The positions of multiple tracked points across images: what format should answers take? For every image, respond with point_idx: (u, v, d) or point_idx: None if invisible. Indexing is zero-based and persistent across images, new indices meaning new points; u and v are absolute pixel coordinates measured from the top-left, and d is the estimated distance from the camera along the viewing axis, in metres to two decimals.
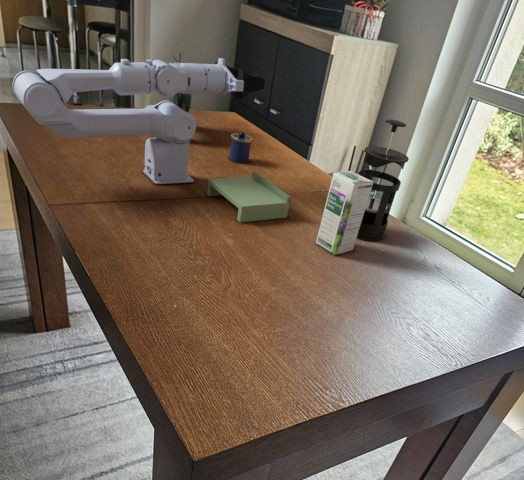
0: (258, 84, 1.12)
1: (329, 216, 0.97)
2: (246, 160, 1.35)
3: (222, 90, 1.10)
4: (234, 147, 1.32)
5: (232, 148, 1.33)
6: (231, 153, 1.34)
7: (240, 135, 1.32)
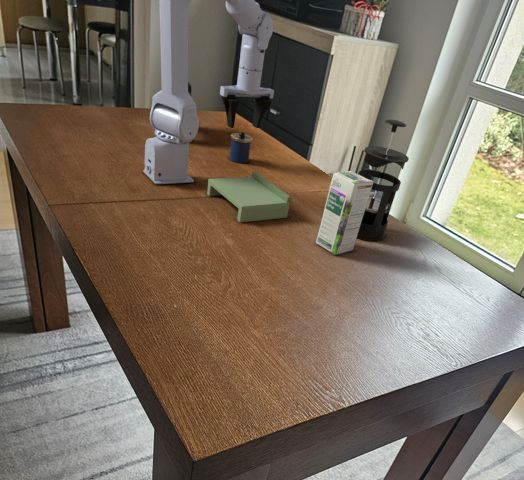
0: None
1: (329, 216, 0.97)
2: (246, 160, 1.35)
3: (259, 89, 1.26)
4: (234, 147, 1.32)
5: (232, 148, 1.33)
6: (231, 153, 1.34)
7: (240, 135, 1.32)
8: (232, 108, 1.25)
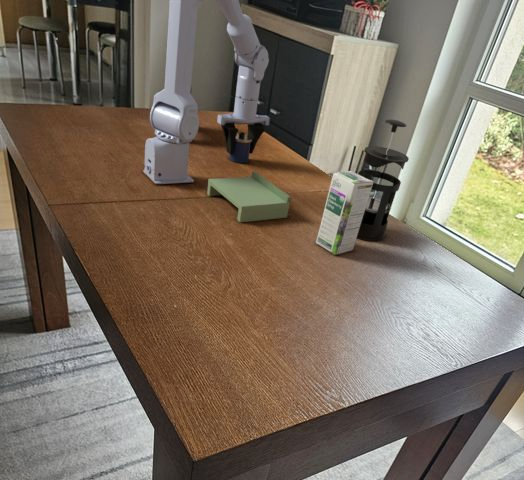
0: None
1: (329, 216, 0.97)
2: (246, 160, 1.35)
3: (255, 117, 1.30)
4: (234, 147, 1.32)
5: None
6: None
7: (240, 135, 1.32)
8: (231, 136, 1.29)
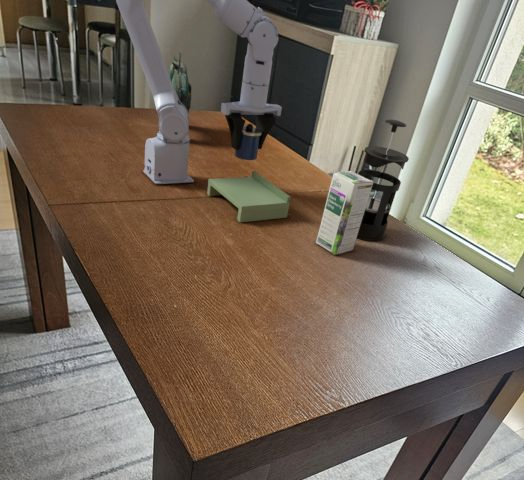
0: None
1: (329, 216, 0.97)
2: (254, 157, 1.16)
3: (265, 106, 1.10)
4: (241, 141, 1.13)
5: None
6: None
7: (247, 127, 1.13)
8: (237, 128, 1.10)
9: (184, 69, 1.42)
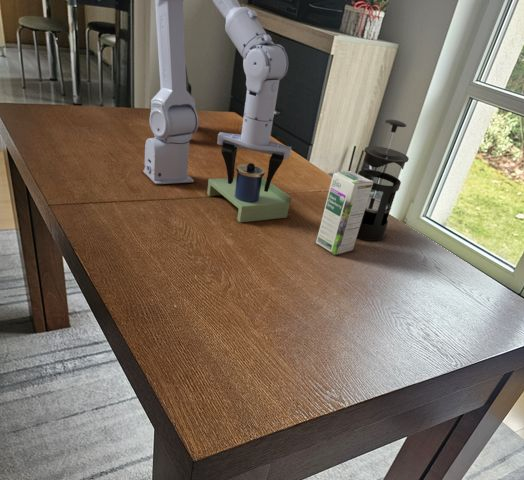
0: None
1: (329, 216, 0.97)
2: (249, 199, 1.04)
3: (264, 143, 0.98)
4: (237, 179, 1.03)
5: (236, 180, 1.04)
6: None
7: (247, 166, 1.02)
8: (225, 160, 1.01)
9: None
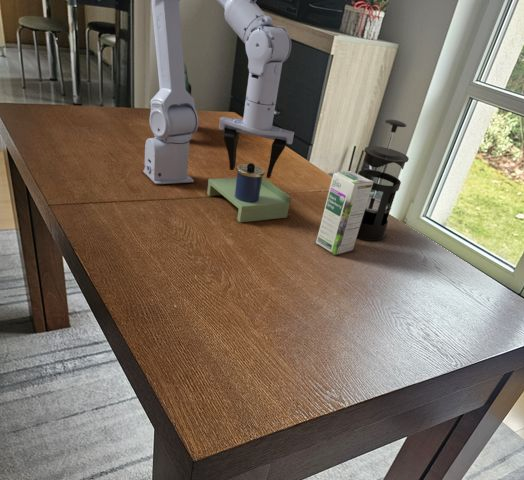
0: (272, 169, 1.02)
1: (329, 216, 0.97)
2: (249, 199, 1.04)
3: (267, 128, 0.96)
4: (237, 179, 1.03)
5: (236, 180, 1.04)
6: None
7: (247, 166, 1.02)
8: (227, 145, 0.99)
9: (184, 69, 1.42)
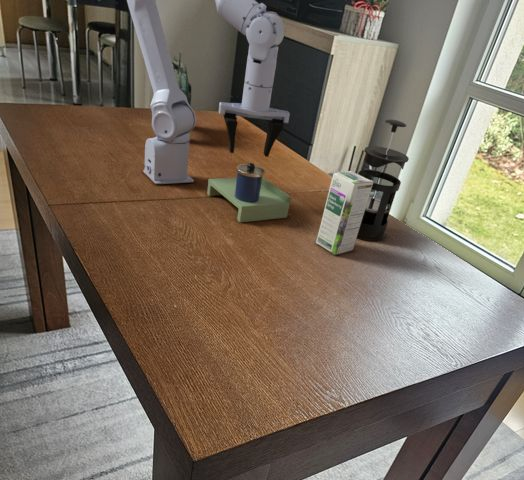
0: None
1: (329, 216, 0.97)
2: (249, 199, 1.04)
3: (267, 110, 1.03)
4: (237, 179, 1.03)
5: (236, 180, 1.04)
6: None
7: (247, 166, 1.02)
8: (229, 129, 1.03)
9: (184, 69, 1.42)
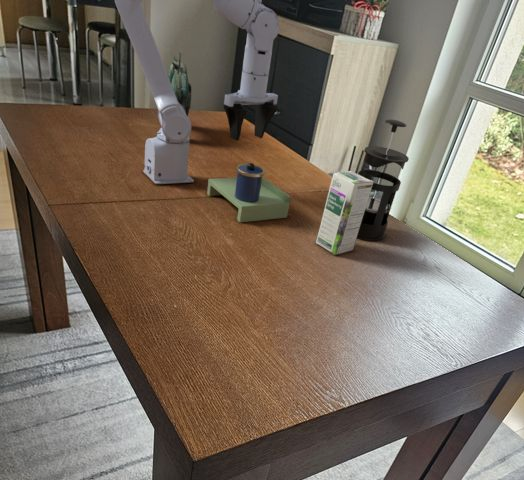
0: None
1: (329, 216, 0.97)
2: (249, 199, 1.04)
3: (265, 95, 1.12)
4: (237, 179, 1.03)
5: (236, 180, 1.04)
6: None
7: (247, 166, 1.02)
8: (239, 119, 1.10)
9: (184, 69, 1.42)
